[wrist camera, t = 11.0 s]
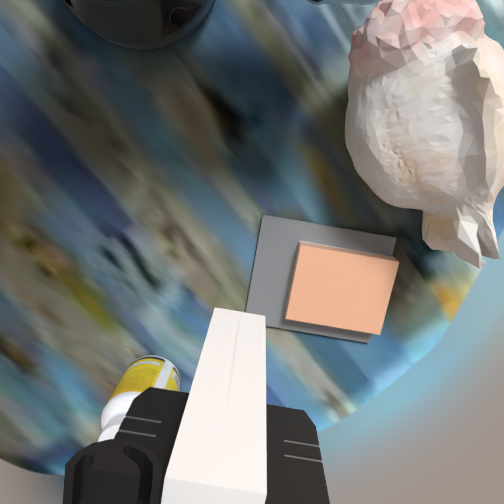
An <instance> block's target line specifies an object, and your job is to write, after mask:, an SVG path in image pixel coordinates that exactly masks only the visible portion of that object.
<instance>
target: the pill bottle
mask: <svg viewBox="0 0 504 504" xmlns="http://www.w3.org/2000/svg"><path fill="white" fill-rule="evenodd" d="M149 387H155V388H161V389H167V390H173V391H180V387H181V378H180V374H179V372H178V370H177V368H176V367H175V366H174V365H173V364H172V363H171V362H170V361H169V360H167V359H165V358H163V357H160V356H155V355H148V356H143V357H140V358H138V359H137V360H135V361H134V362H133V363H132V364H131V365H130V366H129V367H128V369H127V370H126V372H125V374H124V375H123V377H122V379H121V381H120V382H119V384H118V386H117V387H116V389H115V391H114V392H113V394H112V396H111V398H110V399H109V401H108V403H107V404H106V406H105V408H104V410H103V413H102V416H101V427H102V433H101V435H100V437H99V439H98V442H100V441H104V440H109V439H114V437H115V435H116V433H117V432H118V430H119V427H120V425H121V423H122V421H123V419H124V418H125V416H126V413H127V411H128V409H129V407H130V405H131V403H132V401H133V399H134V398H135V397H137V396H138V395H139V394H141V393H142V392H143V391H145V390H146V389H147V388H149Z"/></svg>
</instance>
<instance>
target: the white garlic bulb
mask: <svg viewBox="0 0 504 504" xmlns="http://www.w3.org/2000/svg"><path fill="white" fill-rule="evenodd" d="M484 25H485V22H484V21H483V15H482V13H481V11H480V8H479V6H478V4H477V3H476V1H475V0H383V1H380V2H378V4H377V6H376V7H375V8H373V9H372V10H371V12H370V13H369V15H368V16H367V18H366V21H365V23H364V25H362V26H360V27H358V28H357V29H356V30H355V31H354V33H353V34H352V41H351V50H350V53H349V55H348V58H349V61H350V70H349V79H348V97H349V102H348V106H347V109H346V121H345V141H346V146H347V149H348V151H349V154H350V155H351V158H352V161H353V164H354V167H355V169H356V171H357V173H358V174H359V175H360V177H361V178H362V179H363V180H364V181H365V182H366V183H367V184H368V186H369V187H370V188H371V190H372V191H373V192H374V193H375V194H376V195H377V196H378V197H379V198H381V199H382V200H383V201H385V202H386V203H388V204H390V205H393V206H396V207H401V208H412V209H419V210H422V211H423V224H422V239H423V240H424V241H425V243H426V244H427V245H428V246H429V247H430V248H431V249H432V250H441V251H444V252H454V253H455V254H456V255H457V256H458V257H460V258H461V259H463V260H465V261H467V262H469V263H471V264H472V265H474V266H476V267H478V268H481V267H483V266H484V263H483V259H482V256H485V257H489V258H492V259H500V256H499V253H498V246H497V239H496V233H495V229H494V225H493V221H492V216H493V205H494V202H495V199H496V196H497V194H498V192H499V191H500V190H501V188H502V187H503V186H504V50H503V48H502V47H501V46H500V44H499V43H498V42H496V41H494V40H492V39H490V38H489V37H487V36H486V35H485V34H484Z"/></svg>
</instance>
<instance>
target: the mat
mask: <svg viewBox="0 0 504 504" xmlns="http://www.w3.org/2000/svg"><path fill="white" fill-rule="evenodd" d="M396 239H397V238H396V237H392V236H386V235H380V234H375V233H369V232H363V231H357V230H351V229H346V228H340V227H334V226H328V225H322V224H317V223H311V222H305V221H299V220H293V219H288V218H282V217H276V216H270V215H264V214H263V216H262V222H261V227H260V233H259V239H258V244H257V250H256V256H255V261H254V267H253V273H252V278H251V284H250V289H249V295H248V301H247V306H246V312H245V313H251V314H257V315H263V316H265V326H271V327H277V328H282V329H288V330H294V331H300V332H306V333H312V334H318V335H324V336H330V337H336V338H342V339H348V340H354V341H360V342H366V343H370V339H371V335H372V333H366V332H360V331H354V330H349V329H343V328H337V327H331V326H325V325H319V324H313V323H307V322H301V321H295V320H289V319H286V318H285V308H286V303H287V298H288V293H289V288H290V283H291V278H292V273H293V268H294V263H295V258H296V253H297V248H298V243H299V241H304V242H310V243H316V244H321V245H327V246H333V247H339V248H345V249H351V250H356V251H362V252H368V253H374V254H380V255H386V256H392V255H393V251H394V247H395V243H396Z"/></svg>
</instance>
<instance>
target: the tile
mask: <svg viewBox="0 0 504 504" xmlns="http://www.w3.org/2000/svg"><path fill="white" fill-rule="evenodd" d="M398 265H399V261H398V260H397V259H395V258H394V257H392V256H386V255H380V254H374V253H368V252H362V251H356V250H351V249H345V248H339V247H333V246H327V245H321V244H316V243H310V242H304V241H299V243H298V248H297V253H296V258H295V263H294V268H293V273H292V278H291V283H290V288H289V293H288V298H287V303H286V308H285V318H286V319H289V320H295V321H301V322H307V323H313V324H319V325H325V326H331V327H337V328H343V329H349V330H354V331H360V332H366V333H372V334H378V335H380V333H381V329H382V325H383V322H384V318H385V314H386V310H387V307H388V303H389V299H390V295H391V292H392V288H393V284H394V280H395V277H396V273H397V269H398Z"/></svg>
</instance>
